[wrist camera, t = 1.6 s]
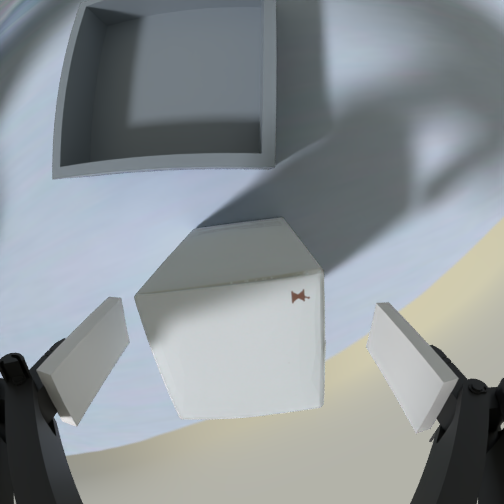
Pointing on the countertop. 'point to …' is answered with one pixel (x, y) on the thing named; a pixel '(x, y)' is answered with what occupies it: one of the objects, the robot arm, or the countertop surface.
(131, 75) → the grey bin
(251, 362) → the supplement box
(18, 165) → the countertop surface
